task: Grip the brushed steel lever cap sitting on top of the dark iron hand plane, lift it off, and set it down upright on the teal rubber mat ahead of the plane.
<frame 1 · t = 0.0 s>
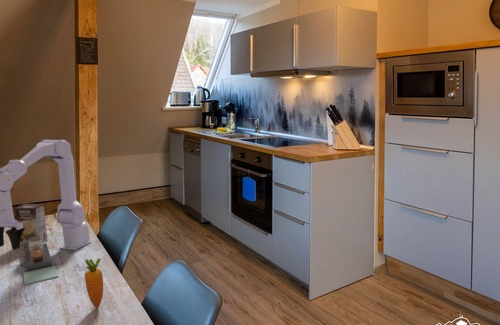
hand: (8, 247, 140), 10 cm above the table, tool pointing down, fingers open, 7 cm apart
carrot: (97, 308, 118), on the table
hand plane: (37, 259, 154), on the table
coffee box: (34, 243, 172), on the table
mat: (40, 275, 140), on the table
lever cap: (36, 253, 154), point 2 cm above the table, touching hand plane
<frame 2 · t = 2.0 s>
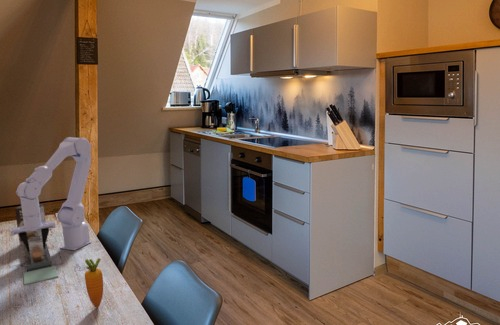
hand: (36, 249, 154), 4 cm above the table, tool pointing down, fingers closed on lever cap, 4 cm apart
lever cap: (36, 253, 154), point 2 cm above the table, touching gripper, hand plane
everything else where it was.
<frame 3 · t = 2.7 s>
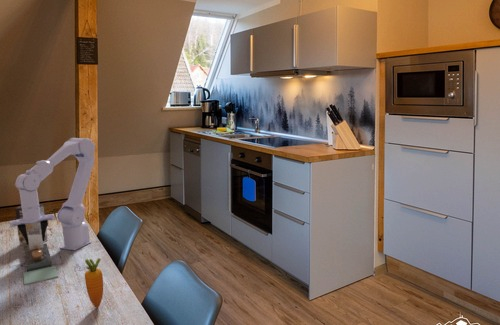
hand: (35, 241, 153), 7 cm above the table, tool pointing down, fingers closed on lever cap, 4 cm apart
lever cap: (36, 246, 153), point 5 cm above the table, touching gripper
everything else where it was.
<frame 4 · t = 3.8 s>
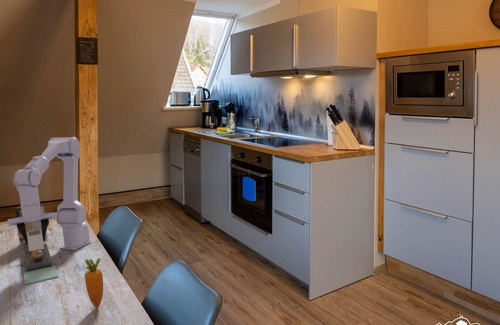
hand: (35, 242, 143), 11 cm above the table, tool pointing down, fingers closed on lever cap, 4 cm apart
lever cap: (36, 247, 143), point 8 cm above the table, touching gripper
everything else where it was.
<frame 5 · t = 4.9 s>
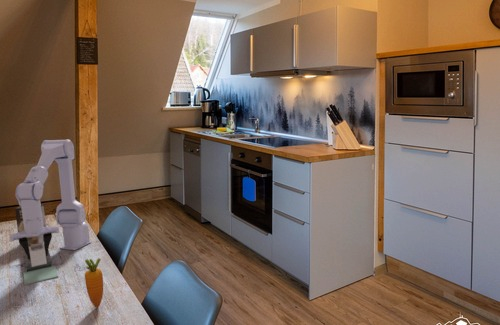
hand: (38, 256, 139), 7 cm above the table, tool pointing down, fingers closed on lever cap, 4 cm apart
lever cap: (38, 262, 140), point 5 cm above the table, touching gripper
everything else where it was.
when the fingers open (3 cm above the table, at t = 6.0 s): lever cap stays where it is, resting on mat.
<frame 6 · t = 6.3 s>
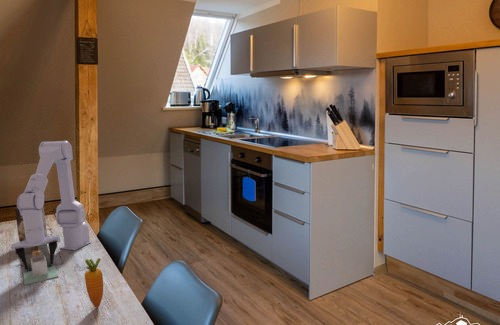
hand: (39, 266, 140), 3 cm above the table, tool pointing down, fingers open, 7 cm apart
lever cap: (40, 273, 141), resting on mat
everything else where it was.
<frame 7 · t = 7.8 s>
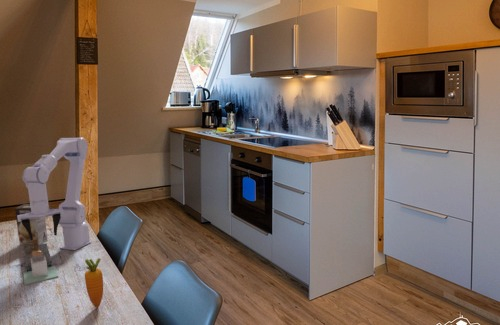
hand: (43, 236, 148), 10 cm above the table, tool pointing down, fingers open, 7 cm apart
nothing on the table moved.
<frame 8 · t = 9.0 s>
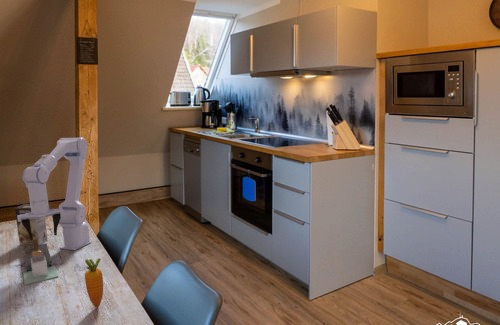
hand: (43, 236, 148), 10 cm above the table, tool pointing down, fingers open, 7 cm apart
nothing on the table moved.
at the end: lever cap 0.4 cm off-centre on the mat, point 0.4 cm above the mat's base; lever cap tilted 0°; the gripper is holding nothing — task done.
